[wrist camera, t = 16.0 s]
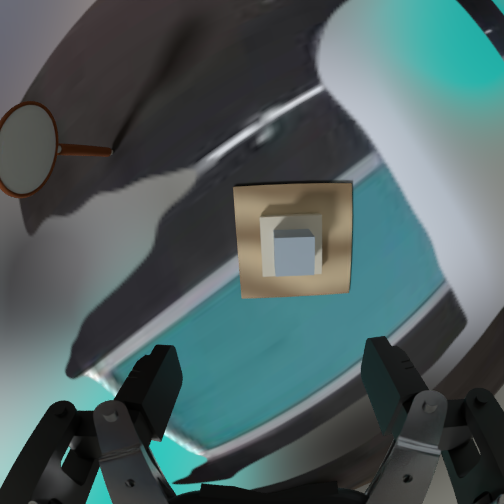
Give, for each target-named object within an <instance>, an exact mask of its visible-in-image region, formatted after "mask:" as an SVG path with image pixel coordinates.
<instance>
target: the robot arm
mask: <svg viewBox="0 0 504 504" xmlns="http://www.w3.org/2000/svg"><path fill="white" fill-rule="evenodd" d="M361 377H362V381H363V383H364V386H365V389H366V391H367V394H368V396H369V399H370V402H371V404H372V406H373V410H374V412H375V415H376V418H377V420H378V423H379V426H380V429H381V432H382V434H383V436H386V435H390V434H393V436H394V440H393V442H392V444H391V446H390V448H389V450H388V452H387V454H386V456H385V458H384V460H383V462H382V464H381V466H380V468H379V470H378V472H377V474H376V475H375V477H374V479H373V480H372V482H371V484H370V485H369V487H368V488H367V490H366V491H365V493H361V492H359V491H355V490H351V489H345V488H338V486H337V481H333V482H326V483H318V484H309V485H302V486H299V487H295V488H292V489H288V490H284V491H280V492H276V493H271V494H266V493H261V492H256V491H251V490H247V489H243V488H238V487H235V486H223V485H212V484H203V483H202V484H201V489H200V490H199V491H192V492H187V493H184V494H180V495H176V494H175V492H174V491H173V489H172V488H171V486H170V485H169V483H168V482H167V480H166V479H165V477H164V475H163V473H162V471H161V469H160V467H159V465H158V463H157V462H156V459H155V457H154V455H153V453H152V451H151V449H150V447H149V445H150V442H151V440H154V441H159V442H161V441H162V438H163V435H164V432H165V429H166V427H167V424H168V421H169V418H170V416H171V413H172V410H173V408H174V405H175V402H176V399H177V397H178V394H179V391H180V389H181V386H182V380H183V377H182V371H181V367H180V363H179V360H178V356H177V352H176V349H175V347H174V346H173V345H156V346H155V347H154V349H153V350H152V352H151V354H150V355H145V356H143V357H142V358H141V359H140V360H138V361H137V362H136V364H135V365H134V367H133V369H132V371H131V372H130V374H129V375H128V377H127V378H126V380H125V382H124V383H123V385H122V387H121V388H120V390H119V392H118V393H117V395H116V397H115V398H114V400H109V401H105V402H103V403H101V404H99V405H98V406H97V407H96V408H95V410H94V411H77V410H76V408H75V406H74V405H73V404H72V403H71V402H69V401H58V402H55V403H54V404H52V405H51V406H50V407H49V408H48V410H47V411H46V413H45V414H44V416H43V417H42V419H41V420H40V422H39V424H38V425H37V426H36V428H35V430H34V431H33V433H32V434H31V436H30V438H29V439H28V441H27V442H26V444H25V446H24V447H23V449H22V451H21V452H20V454H19V456H18V457H17V459H16V461H15V463H14V464H13V466H12V468H11V470H10V472H9V473H8V475H7V477H6V479H5V481H4V483H3V485H2V487H1V488H0V504H86V501H87V498H88V496H89V493H90V490H91V488H92V485H93V482H94V480H95V477H96V475H97V472H98V469H99V467H100V468H101V471H102V474H103V477H104V481H105V484H106V487H107V489H108V492H109V495H110V498H111V500H112V503H113V504H422V503H423V501H424V498H425V496H426V493H427V491H428V488H429V486H430V483H431V481H432V478H433V475H434V473H435V470H436V467H437V464H438V460H439V457H440V453H441V454H442V457H443V460H444V462H445V465H446V468H447V471H448V474H449V477H450V480H451V483H452V486H453V489H454V492H455V496H456V499H457V503H458V504H504V411H503V410H502V408H501V407H500V405H499V403H498V402H497V400H496V399H495V398H494V396H493V394H492V393H491V392H490V391H488V390H486V389H484V388H474V389H472V390H470V391H469V392H468V394H467V395H466V397H465V399H458V400H447V399H446V398H445V397H444V396H443V395H442V394H441V393H439V392H437V391H433V390H429V389H428V387H427V386H426V384H425V382H424V381H423V379H422V378H421V376H420V374H419V373H418V371H417V370H416V368H414V365H413V363H412V362H411V361H410V359H409V357H408V356H407V354H406V353H405V352H404V351H403V350H402V349H400V348H399V347H397V346H391V345H390V343H389V341H388V340H387V338H386V337H385V336H381V337H374V338H368V339H367V340H366V344H365V349H364V354H363V359H362V364H361ZM473 437H474V439H475V442H476V444H477V446H478V448H479V450H480V454H481V455H480V454H479V452H478V450H477V447H476V446H475V443H474V441H473V439H472V438H473ZM68 446H69V447H70V448H71V449H70V451H69V453H68V455H67V457H66V459H65V461H64V463H63V465H62V467H61V460H62V458H63V456H64V454H65V452H66V450H67V448H68Z"/></svg>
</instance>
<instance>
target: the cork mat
mask: <svg viewBox="0 0 504 504" xmlns="http://www.w3.org/2000/svg"><path fill="white" fill-rule="evenodd" d="M233 191H234V205H235V219H236V232H237V245H238V258H239V271H240V283H241V295H242V298H270V297H292V296H310V295H326V294H340V293H349V284H350V268H351V246H352V183H309V184H277V185H257V186H240V187H233ZM314 213H320V214H321V215H322V274H314V275H303V276H279V277H276V276H270V277H263V272H262V253H261V235H260V216H263V215H286V214H314Z"/></svg>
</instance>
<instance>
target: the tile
mask: <svg viewBox="0 0 504 504" xmlns="http://www.w3.org/2000/svg"><path fill="white" fill-rule="evenodd" d="M290 229H309V230H310V231H311V232H312V234H313V235H314V236H315V270H314V274H322V215H321V214H320V213H314V214H286V215H263V216H260V235H261V253H262V272H263V277H270V276H275V264H274V234H273V230H290Z"/></svg>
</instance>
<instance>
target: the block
mask: <svg viewBox="0 0 504 504" xmlns="http://www.w3.org/2000/svg"><path fill="white" fill-rule="evenodd" d="M273 234H274V264H275V276H276V277H279V276H303V275H314V270H315V236H314V235H313V234H312V232H311V231H310V230H309V229H290V230H273Z"/></svg>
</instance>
